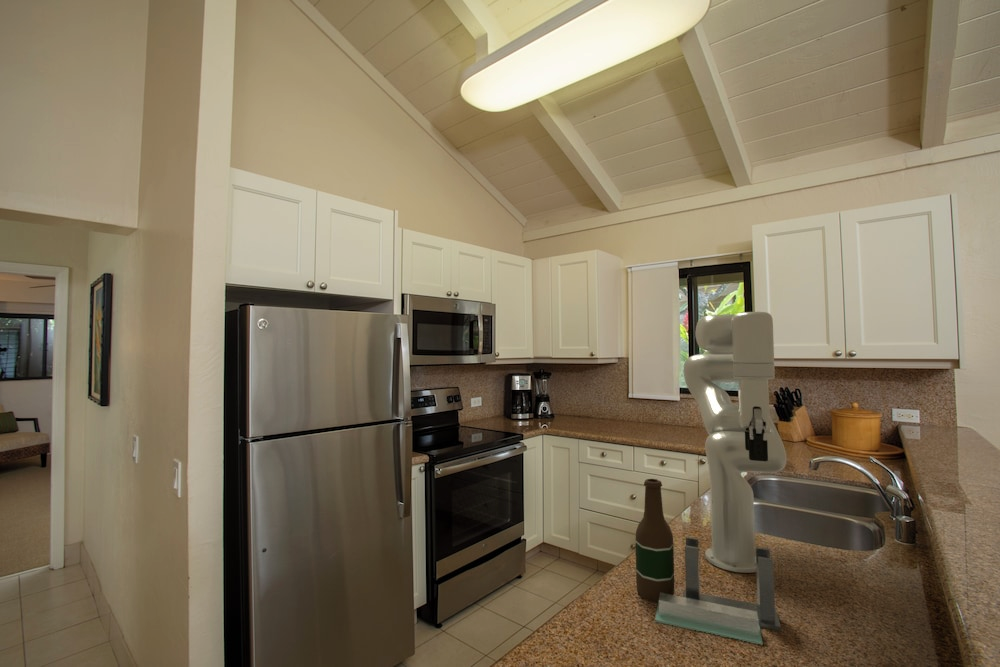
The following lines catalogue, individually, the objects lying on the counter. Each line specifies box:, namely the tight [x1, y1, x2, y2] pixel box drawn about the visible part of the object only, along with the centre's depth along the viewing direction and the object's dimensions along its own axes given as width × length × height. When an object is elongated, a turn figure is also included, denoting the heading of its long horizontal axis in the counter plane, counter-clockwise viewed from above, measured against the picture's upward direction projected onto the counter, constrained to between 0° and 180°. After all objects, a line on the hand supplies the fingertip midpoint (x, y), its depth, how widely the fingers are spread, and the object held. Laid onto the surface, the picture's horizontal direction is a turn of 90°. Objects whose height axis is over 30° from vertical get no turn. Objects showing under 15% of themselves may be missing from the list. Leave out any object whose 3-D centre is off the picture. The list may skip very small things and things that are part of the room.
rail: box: [658, 593, 759, 637], centre depth 87 cm, size 3×17×3 cm, turn 66°
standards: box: [682, 536, 782, 632], centre depth 91 cm, size 7×17×12 cm, turn 66°
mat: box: [654, 603, 763, 646], centre depth 87 cm, size 6×18×1 cm, turn 66°
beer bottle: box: [634, 478, 675, 604], centre depth 99 cm, size 8×8×24 cm
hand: (756, 455), depth 94 cm, fingers open, 9 cm apart
